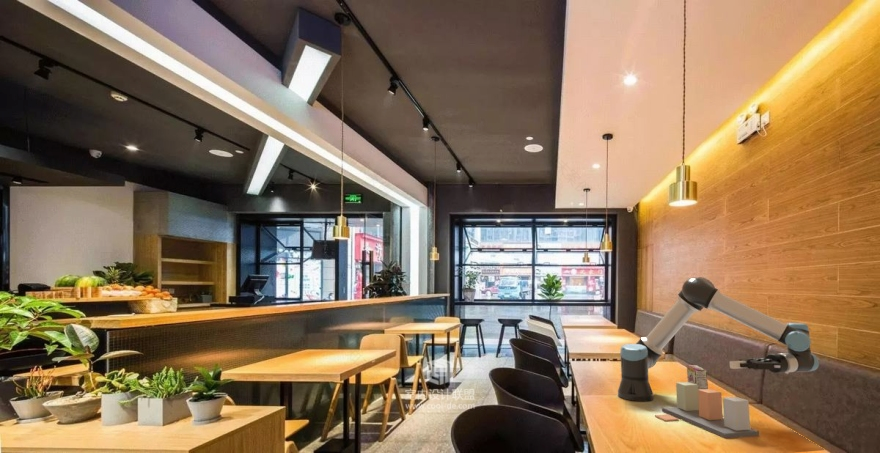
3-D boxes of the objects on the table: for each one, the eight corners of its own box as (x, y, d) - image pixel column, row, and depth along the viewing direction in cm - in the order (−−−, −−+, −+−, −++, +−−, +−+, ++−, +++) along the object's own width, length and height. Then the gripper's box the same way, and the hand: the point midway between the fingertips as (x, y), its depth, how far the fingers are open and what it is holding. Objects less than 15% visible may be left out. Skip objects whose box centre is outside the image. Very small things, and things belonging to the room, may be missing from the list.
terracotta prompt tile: (654, 416, 181) (654, 415, 181) (668, 415, 182) (668, 414, 182) (665, 421, 175) (665, 419, 175) (678, 420, 176) (678, 418, 176)
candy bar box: (687, 402, 202) (686, 364, 204) (700, 403, 201) (698, 365, 203) (696, 409, 191) (694, 369, 193) (709, 410, 190) (707, 370, 192)
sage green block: (677, 407, 188) (676, 382, 189) (689, 406, 189) (688, 382, 190) (686, 410, 183) (684, 385, 184) (698, 410, 184) (697, 384, 186)
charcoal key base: (662, 411, 188) (662, 407, 188) (691, 409, 191) (691, 406, 191) (725, 438, 157) (725, 433, 157) (759, 435, 160) (758, 431, 160)
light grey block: (724, 426, 165) (722, 397, 166) (738, 425, 166) (736, 396, 167) (736, 430, 160) (734, 401, 161) (750, 429, 161) (748, 400, 162)
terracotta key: (699, 416, 176) (697, 389, 178) (712, 415, 178) (711, 389, 179) (709, 420, 172) (707, 392, 173) (722, 419, 173) (721, 392, 174)
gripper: (797, 375, 177) (746, 378, 172) (766, 369, 189) (718, 371, 184) (795, 356, 178) (744, 358, 173) (765, 351, 190) (717, 352, 185)
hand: (731, 365), depth 179 cm, fingers closed
